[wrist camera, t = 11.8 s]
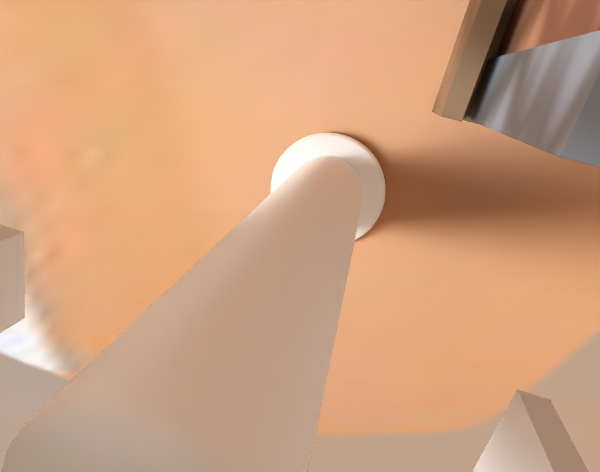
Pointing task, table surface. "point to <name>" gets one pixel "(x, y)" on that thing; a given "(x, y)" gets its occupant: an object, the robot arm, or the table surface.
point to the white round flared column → (226, 339)
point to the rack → (529, 74)
